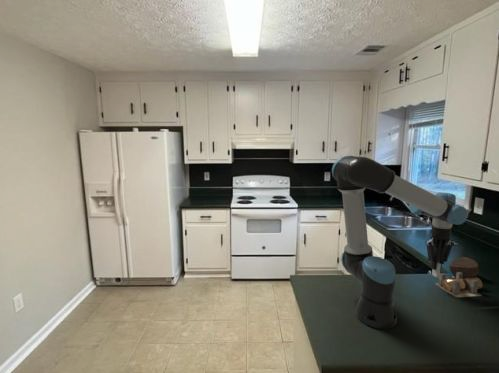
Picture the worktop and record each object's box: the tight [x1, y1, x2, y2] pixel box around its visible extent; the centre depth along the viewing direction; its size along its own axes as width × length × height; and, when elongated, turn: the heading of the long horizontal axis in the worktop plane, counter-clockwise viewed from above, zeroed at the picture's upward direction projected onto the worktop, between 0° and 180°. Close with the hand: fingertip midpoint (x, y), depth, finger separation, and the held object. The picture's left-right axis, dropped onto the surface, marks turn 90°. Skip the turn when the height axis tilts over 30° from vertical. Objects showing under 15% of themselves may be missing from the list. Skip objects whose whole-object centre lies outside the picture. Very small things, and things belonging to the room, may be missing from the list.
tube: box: [442, 277, 483, 291], centre depth 131 cm, size 16×5×5 cm, turn 96°
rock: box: [449, 256, 480, 278], centre depth 144 cm, size 12×10×10 cm
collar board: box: [434, 272, 483, 298], centre depth 131 cm, size 13×13×7 cm
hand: (435, 275), depth 129 cm, fingers closed
